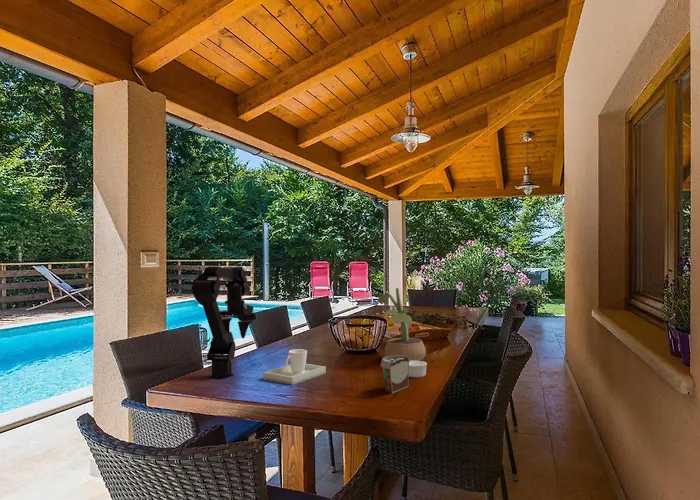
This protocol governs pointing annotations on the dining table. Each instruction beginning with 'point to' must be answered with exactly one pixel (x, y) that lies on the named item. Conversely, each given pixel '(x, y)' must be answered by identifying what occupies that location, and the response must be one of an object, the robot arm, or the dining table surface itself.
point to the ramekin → (417, 368)
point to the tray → (287, 378)
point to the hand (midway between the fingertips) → (235, 337)
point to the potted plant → (402, 332)
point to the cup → (296, 361)
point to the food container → (395, 372)
